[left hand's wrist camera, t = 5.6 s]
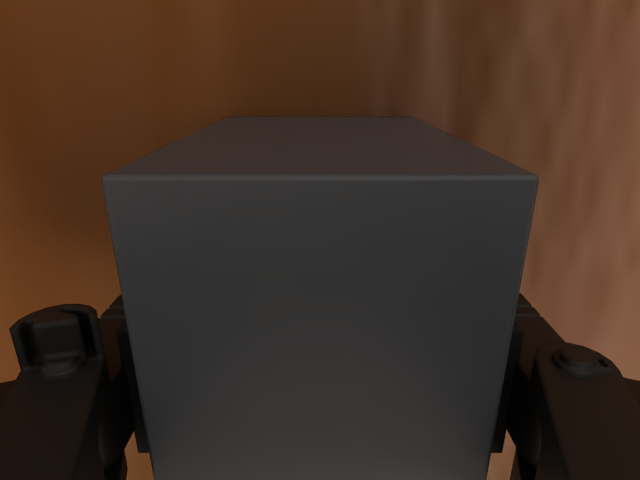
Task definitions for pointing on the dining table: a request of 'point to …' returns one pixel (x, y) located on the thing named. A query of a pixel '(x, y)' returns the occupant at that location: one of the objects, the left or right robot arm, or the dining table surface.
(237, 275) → the bar
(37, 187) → the dining table surface
